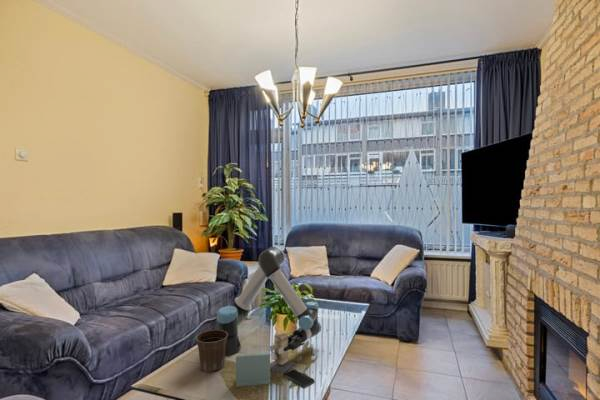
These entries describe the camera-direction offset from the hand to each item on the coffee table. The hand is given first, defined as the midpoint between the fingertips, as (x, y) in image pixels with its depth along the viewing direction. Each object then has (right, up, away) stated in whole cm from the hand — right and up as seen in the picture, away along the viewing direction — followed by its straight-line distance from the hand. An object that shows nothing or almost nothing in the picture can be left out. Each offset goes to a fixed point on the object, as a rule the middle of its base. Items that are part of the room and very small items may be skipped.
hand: (274, 350), depth 174 cm
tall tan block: (+3, -8, +4) cm, 10 cm away
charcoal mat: (+3, -10, +4) cm, 12 cm away
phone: (+12, -11, -8) cm, 18 cm away
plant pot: (-33, -11, +4) cm, 35 cm away
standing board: (-9, -11, -11) cm, 18 cm away
